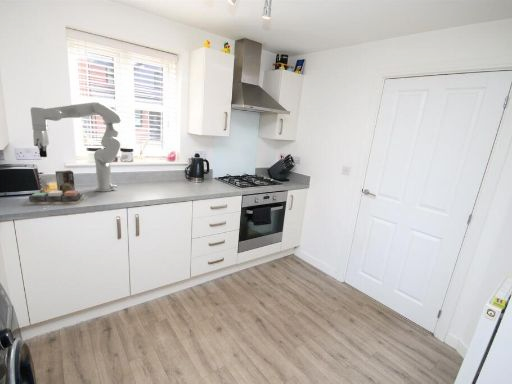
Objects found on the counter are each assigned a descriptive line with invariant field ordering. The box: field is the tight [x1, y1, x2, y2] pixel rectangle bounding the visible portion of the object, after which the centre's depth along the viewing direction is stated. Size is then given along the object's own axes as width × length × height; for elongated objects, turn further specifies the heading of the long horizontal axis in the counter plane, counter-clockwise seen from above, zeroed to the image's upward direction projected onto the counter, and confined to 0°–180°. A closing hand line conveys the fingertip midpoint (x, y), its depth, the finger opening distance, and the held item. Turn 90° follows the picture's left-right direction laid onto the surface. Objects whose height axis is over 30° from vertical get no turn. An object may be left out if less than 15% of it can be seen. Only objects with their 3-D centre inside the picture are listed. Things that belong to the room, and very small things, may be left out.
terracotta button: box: [64, 190, 79, 196], centre depth 170 cm, size 6×6×4 cm
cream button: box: [48, 190, 63, 196], centre depth 167 cm, size 6×6×4 cm
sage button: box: [31, 192, 47, 196], centre depth 165 cm, size 6×6×4 cm
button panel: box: [25, 192, 84, 205], centre depth 168 cm, size 27×11×4 cm, turn 110°
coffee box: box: [55, 170, 76, 193], centre depth 185 cm, size 9×6×16 cm
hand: (43, 156), depth 169 cm, fingers closed
